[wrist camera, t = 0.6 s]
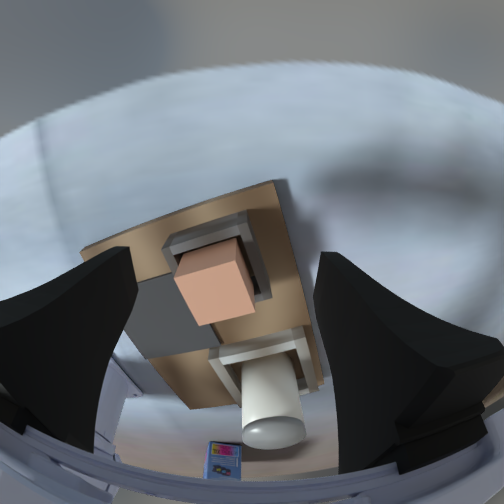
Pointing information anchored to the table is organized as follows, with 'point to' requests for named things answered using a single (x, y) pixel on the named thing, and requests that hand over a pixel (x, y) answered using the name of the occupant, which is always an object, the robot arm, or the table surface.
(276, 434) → the cylinder
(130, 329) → the rubber mat
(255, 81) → the table surface
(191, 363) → the base board
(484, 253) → the table surface
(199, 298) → the peach square block
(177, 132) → the table surface
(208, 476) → the ink cartridge box
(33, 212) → the table surface
